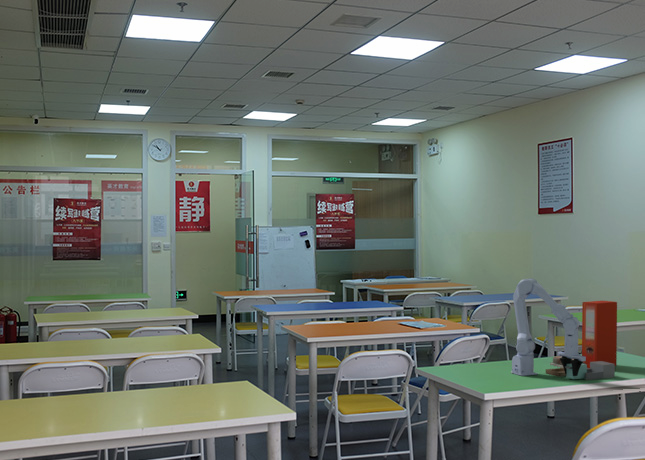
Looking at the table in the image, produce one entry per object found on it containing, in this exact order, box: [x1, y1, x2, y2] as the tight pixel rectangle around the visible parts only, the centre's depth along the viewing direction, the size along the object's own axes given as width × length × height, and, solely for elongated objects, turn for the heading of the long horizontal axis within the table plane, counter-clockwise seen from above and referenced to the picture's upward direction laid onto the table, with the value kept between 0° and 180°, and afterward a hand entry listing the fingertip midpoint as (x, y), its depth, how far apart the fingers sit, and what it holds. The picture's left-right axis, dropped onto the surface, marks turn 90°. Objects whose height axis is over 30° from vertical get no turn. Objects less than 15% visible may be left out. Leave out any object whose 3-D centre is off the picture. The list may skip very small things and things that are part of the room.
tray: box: [545, 367, 566, 378], centre depth 298 cm, size 13×8×2 cm, turn 114°
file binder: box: [581, 300, 618, 368], centre depth 318 cm, size 8×17×32 cm, turn 124°
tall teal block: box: [565, 364, 587, 380], centre depth 287 cm, size 9×4×6 cm, turn 115°
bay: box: [584, 361, 616, 381], centre depth 292 cm, size 17×8×6 cm, turn 114°
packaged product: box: [549, 355, 590, 369], centre depth 314 cm, size 18×5×10 cm
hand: (571, 374), depth 286 cm, fingers closed on tall teal block, 4 cm apart
